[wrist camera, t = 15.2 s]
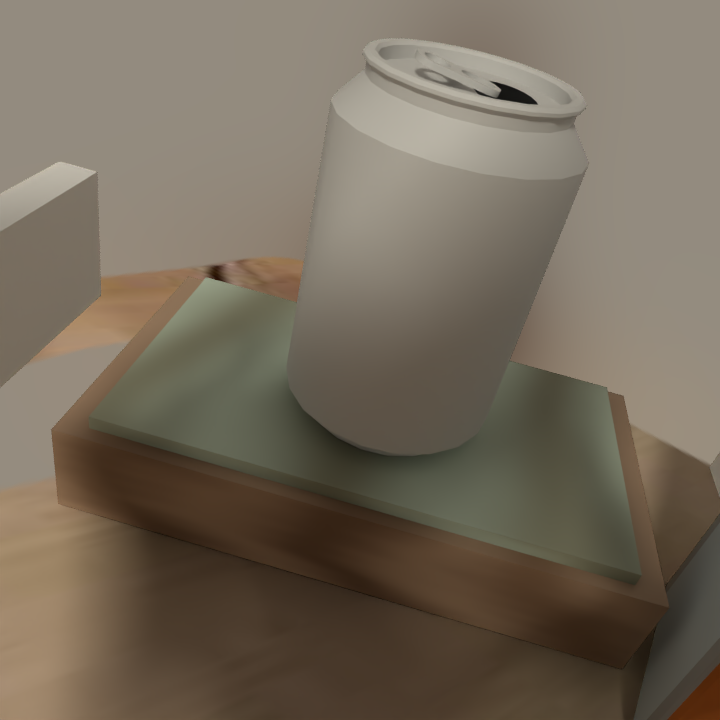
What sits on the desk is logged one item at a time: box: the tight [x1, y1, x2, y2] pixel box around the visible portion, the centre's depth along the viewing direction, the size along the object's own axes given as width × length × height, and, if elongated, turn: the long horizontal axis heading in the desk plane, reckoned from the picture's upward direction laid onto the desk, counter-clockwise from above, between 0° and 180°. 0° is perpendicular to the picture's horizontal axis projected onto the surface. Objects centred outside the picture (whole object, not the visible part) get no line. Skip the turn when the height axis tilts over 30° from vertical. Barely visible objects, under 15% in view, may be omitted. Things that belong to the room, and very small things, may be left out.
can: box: [286, 38, 589, 456], centre depth 22 cm, size 8×8×12 cm
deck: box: [52, 276, 669, 669], centre depth 26 cm, size 20×11×4 cm, turn 79°
